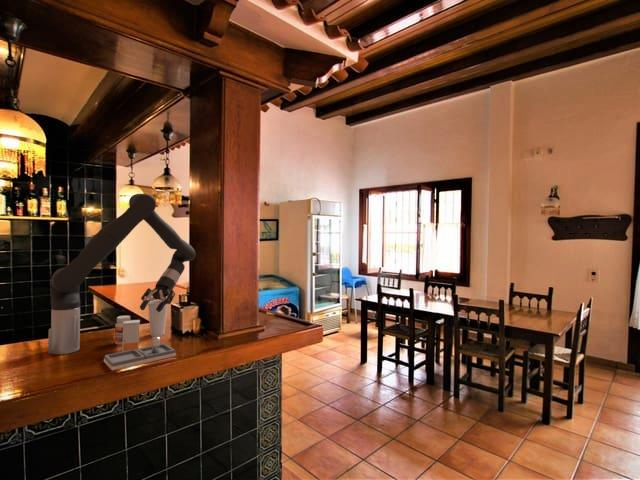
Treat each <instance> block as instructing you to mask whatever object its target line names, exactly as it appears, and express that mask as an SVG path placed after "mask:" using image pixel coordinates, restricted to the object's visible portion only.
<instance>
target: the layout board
mask: <svg viewBox="0 0 640 480" xmlns="http://www.w3.org/2000/svg"><path fill="white" fill-rule="evenodd" d="M173 357H176V349H174V348H173V347H171V346H170V345H168V344H166V343H161V336H151V345H150V346H145V347H139V349H137V350H136V349H134V350H129V351H124V352H122V351H120V352H113V353H110V354H109V353H108V354H105V355H104V358H103V362H104V363H105V365H106V366H107V367H108V368H109V369H110V370H111V371H116V370H121V369H124V368H130V367H134V366H138V365H143V364H146V363H151V362H155V361H160V360H164V359H168V358H173Z"/></svg>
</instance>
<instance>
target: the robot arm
mask: <svg viewBox="0 0 640 480" xmlns="http://www.w3.org/2000/svg"><path fill="white" fill-rule="evenodd" d="M128 205H129V207H128V208H127V209H126V210H125V211H124V213H122V214H121V215H120V216H118V217H116V218H115V219H112V221H110V222H108V223H107V224H105V225H104V226H103V227H102V228H101V229H99V231H97V232H96V234H94V235H93V236H92V237H91V239H90V240H89V241H88V242H87V243H86V245H85V246H84V248H83V249H82V250H81V252H80V253H79V254H78V255H77V257H76V258H74V259H73V260H72V261H71V262H70V263H68V264H67V265H66V266H65V267H61V268H58V269H57V270H55V272H54V273H53V274H52V276H51V286H50V287H51V290H50V291H51V298H50V299H51V300H50V301H51V316H50V317H51V322H50V323H51V324H50V325H51V326H50V327H51V328H49V329H48V340H47V341H48V343H47V344H48V347H47V349H48V351H47V352H48V354H52V355H66V354H71V353H75V352H78V351H79V350H80V345H81V344H80V343H81V342H80V341H81V339H80V337H81V336H80V335H81V334H80V333H81V295H80V291H81V290H80V285H81V284H82V283H83V282H84V281H85V279H86V278H87V276H89V274H90V273H91V272H92V270H94V268H95V267H96V266H97V265H99V264H100V263H101V262H102V261H104V260H105V259H106V258H107V257H108V256H109V255H110V254H111V253H112V252H114V250H115V249H116V248H117V247H118V246H119V245H120V244H121V243H122V242H124V240H125V239H126V238H127V237H128V236H129V234H130V233H132V232H133V230H134V229H135V228H136V227H137V226H138V225H139V224H140V223H141V222H143V221H145V222H146V224H148V226H149V227H151V228H152V229H153V231H154V232H155V233H156V234H157V236H158V237H159V238H160V239H161V240H162V241H163V243H164V244H165V245H166V246H167V247H168V248H169V249H171V250H174V252H173V254H172V256H171V260H170V262H169V263H170V264H169V265H168V266H167V268H166V269H165V270H164V271H163V273H162V274H161V275H160V278H158V280H157V281H156V283H155V288H153V289H151V288H149V287H148V288H147V289H146V291H145V292H144V293H143V294H142V296H141V297H140V300H141V301H142V302H141V304H140V305H139V309H140V310H141V311H145V309H146V308H147V307H148V303H149V302H151V301H159V300H161V302H160V304H159V305H158V307H157V308H156V310H157V311H158V312H160V311H161V310H162V309H163V307H164V306H165V305H166V304H168V305H170V304H171V303H172V302H173V300H174V297H175V295H176V292H175V291H174V288H175V287H176V285H177V284H178V282H179V280H180V277H181V276H182V274H183V272H184V271H185V268H186V267H185V264H184V263H185V262H191V261H193V260H194V259H195V258H196V255H197V254H196V250H195V248H193V246H192V244H190V243H188V242H187V241H186V240H184V239H183V238H181V236H180V235H179V234H178V233H177V231H176V230H175V229H174V228H173V226H171V225H169V224H168V222H166V221H165V220H164V219H163V218H162V217H161V216H160V215H159V213H157V211H155V210H156V207H157V200H156V199H155V197H153V196H152V195H150V194H148V193H137V194H134V195H132V196H131V197H130V198H129V200H128Z"/></svg>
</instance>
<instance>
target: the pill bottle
mask: <svg viewBox="0 0 640 480" xmlns="http://www.w3.org/2000/svg"><path fill="white" fill-rule="evenodd" d="M130 320H131V315H119V316H117V317H116V323H115V324H114V325H115V326H114V344H116V345H120V346H122V340H123V321H130Z"/></svg>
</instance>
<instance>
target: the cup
mask: <svg viewBox="0 0 640 480" xmlns="http://www.w3.org/2000/svg"><path fill="white" fill-rule="evenodd" d="M160 302H161V300H159V299H158V300H154V301H150V302H149V303H148V304H147V307H148V320H149V333H150V335H149V336H151V337H154V336H160V337H162V336H164V335H165V332H166V324H167V313H168V306H169V304H166V305H165V306H164V307H163V309H162V310H161V311H160V312H158V311H157V310H156V308H157V307H158V305H159V304H160Z"/></svg>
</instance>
